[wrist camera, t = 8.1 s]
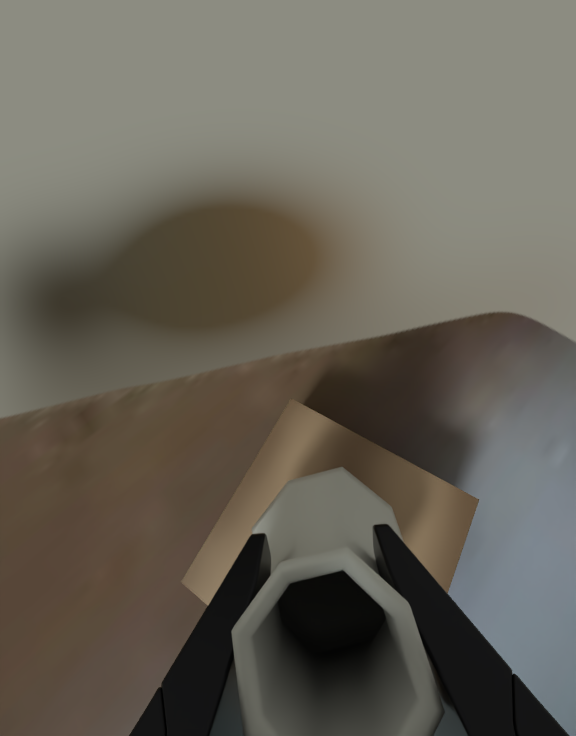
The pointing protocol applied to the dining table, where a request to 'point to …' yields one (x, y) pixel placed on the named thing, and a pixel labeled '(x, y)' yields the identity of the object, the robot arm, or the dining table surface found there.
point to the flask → (330, 624)
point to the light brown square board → (365, 462)
